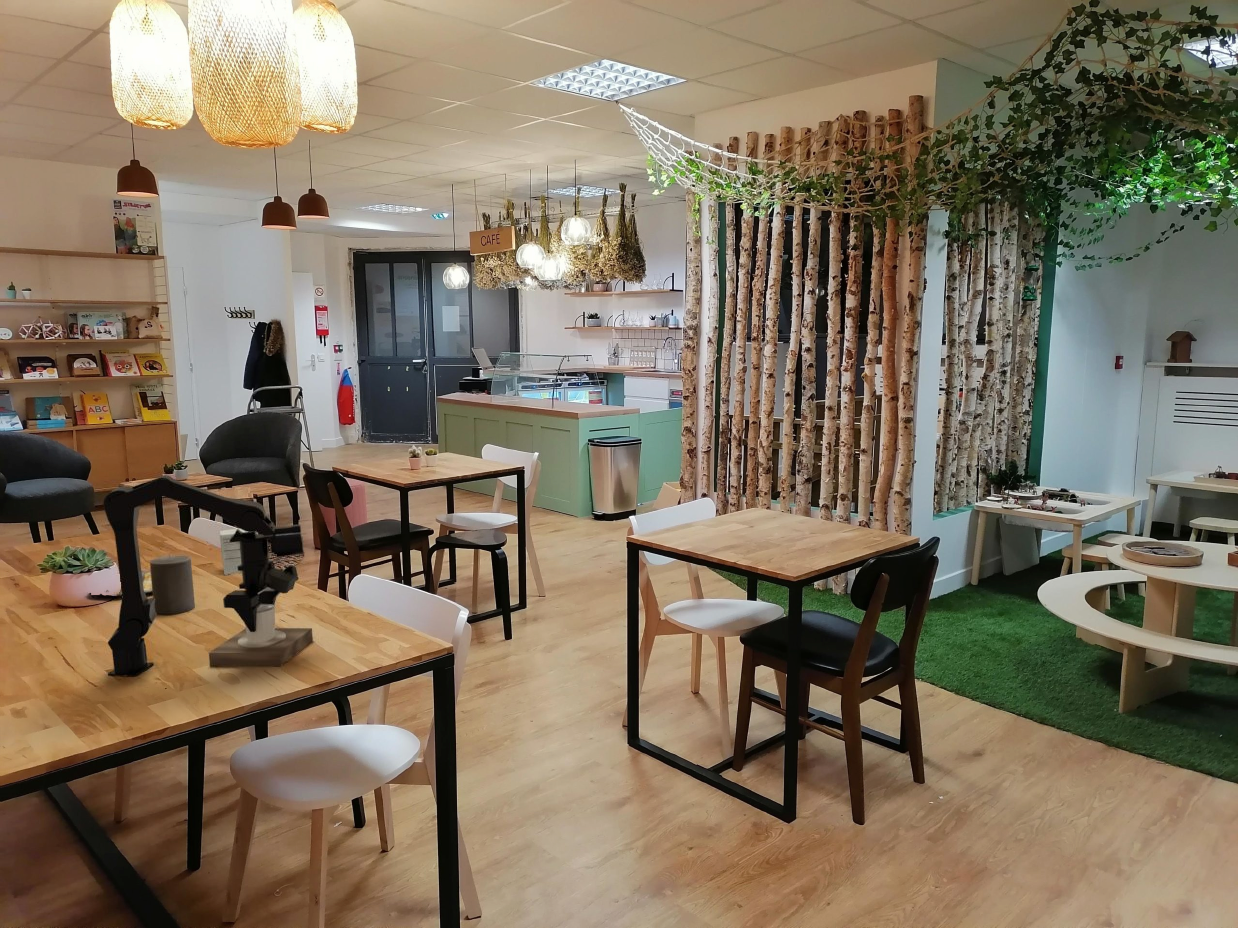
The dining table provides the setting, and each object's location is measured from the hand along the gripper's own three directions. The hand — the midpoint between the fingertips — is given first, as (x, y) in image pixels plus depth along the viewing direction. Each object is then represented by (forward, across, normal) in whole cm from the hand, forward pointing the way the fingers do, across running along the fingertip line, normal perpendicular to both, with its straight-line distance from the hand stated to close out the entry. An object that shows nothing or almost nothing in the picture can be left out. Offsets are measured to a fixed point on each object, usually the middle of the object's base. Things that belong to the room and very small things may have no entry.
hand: (260, 626), depth 193 cm
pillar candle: (+6, +31, +40) cm, 51 cm away
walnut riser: (+6, 0, 0) cm, 6 cm away
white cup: (+3, 0, 0) cm, 3 cm away
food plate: (+7, +51, +64) cm, 82 cm away
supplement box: (+6, +68, +43) cm, 81 cm away
